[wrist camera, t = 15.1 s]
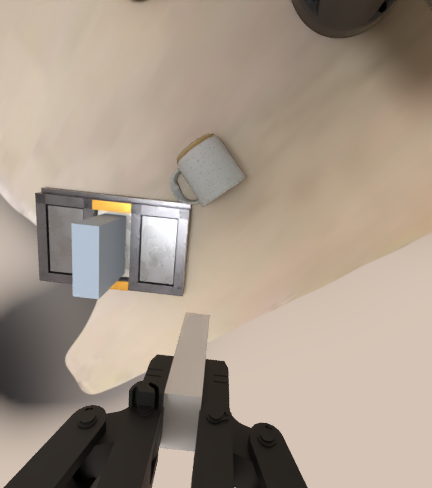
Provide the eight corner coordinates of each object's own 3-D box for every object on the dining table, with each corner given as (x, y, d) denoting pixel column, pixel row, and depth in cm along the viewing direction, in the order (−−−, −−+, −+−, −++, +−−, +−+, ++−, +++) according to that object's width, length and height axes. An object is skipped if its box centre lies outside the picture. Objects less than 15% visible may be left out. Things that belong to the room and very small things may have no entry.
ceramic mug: (215, 133, 42) (212, 124, 35) (244, 178, 43) (248, 178, 36) (161, 174, 44) (148, 174, 36) (191, 216, 45) (184, 224, 38)
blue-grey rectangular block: (104, 213, 44) (71, 223, 34) (126, 215, 44) (99, 226, 34) (104, 271, 46) (72, 296, 37) (124, 273, 46) (98, 299, 37)
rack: (45, 187, 44) (33, 188, 42) (191, 203, 45) (189, 205, 42) (49, 279, 48) (38, 285, 46) (183, 293, 48) (181, 300, 46)
